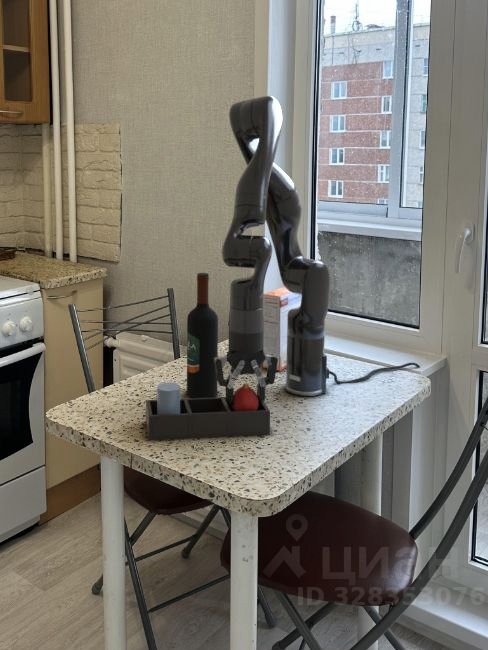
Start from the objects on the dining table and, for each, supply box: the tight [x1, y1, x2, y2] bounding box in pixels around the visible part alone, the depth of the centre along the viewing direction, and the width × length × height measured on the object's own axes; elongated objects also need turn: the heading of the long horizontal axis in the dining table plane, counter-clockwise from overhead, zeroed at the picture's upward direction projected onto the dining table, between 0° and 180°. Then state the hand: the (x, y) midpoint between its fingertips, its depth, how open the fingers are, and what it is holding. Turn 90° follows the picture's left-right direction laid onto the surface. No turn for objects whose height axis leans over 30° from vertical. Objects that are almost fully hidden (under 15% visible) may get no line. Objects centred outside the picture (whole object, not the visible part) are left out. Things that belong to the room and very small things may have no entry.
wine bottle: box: [186, 272, 219, 398], centre depth 164 cm, size 8×8×30 cm
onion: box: [232, 383, 259, 411], centre depth 146 cm, size 6×6×8 cm
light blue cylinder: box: [156, 382, 181, 415], centre depth 144 cm, size 5×5×9 cm
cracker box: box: [262, 285, 302, 372], centre depth 188 cm, size 14×6×21 cm, turn 144°
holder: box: [145, 396, 271, 441], centre depth 145 cm, size 26×9×5 cm, turn 97°
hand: (245, 402), depth 146 cm, fingers closed on onion, 5 cm apart
